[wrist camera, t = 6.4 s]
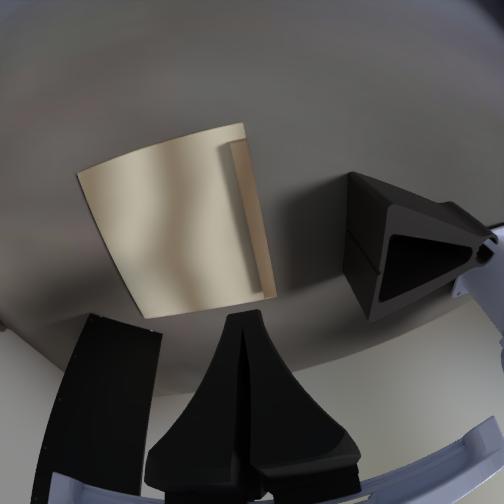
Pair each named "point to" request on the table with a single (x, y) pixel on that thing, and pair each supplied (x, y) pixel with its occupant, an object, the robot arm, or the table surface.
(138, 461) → the tissue box
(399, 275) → the dark grey open container
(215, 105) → the table surface
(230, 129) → the book stand
